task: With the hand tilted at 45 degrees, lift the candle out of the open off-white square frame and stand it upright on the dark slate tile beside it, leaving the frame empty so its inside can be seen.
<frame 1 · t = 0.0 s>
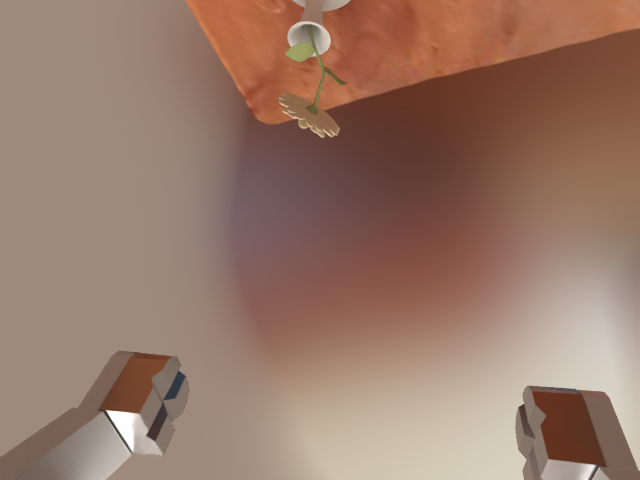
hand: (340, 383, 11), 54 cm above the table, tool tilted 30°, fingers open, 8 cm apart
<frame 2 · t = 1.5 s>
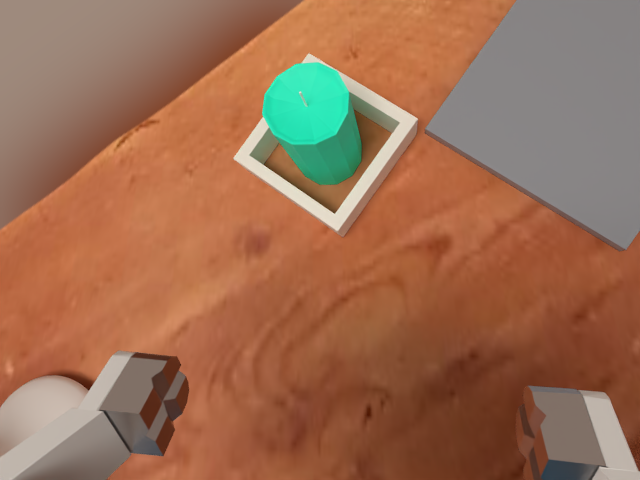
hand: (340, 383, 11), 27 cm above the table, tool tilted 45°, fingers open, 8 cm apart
slate tile: (579, 100, 37), on the table
candle: (329, 153, 40), resting in square frame
flower in vase: (59, 442, 41), on the table
square frame: (329, 152, 40), on the table
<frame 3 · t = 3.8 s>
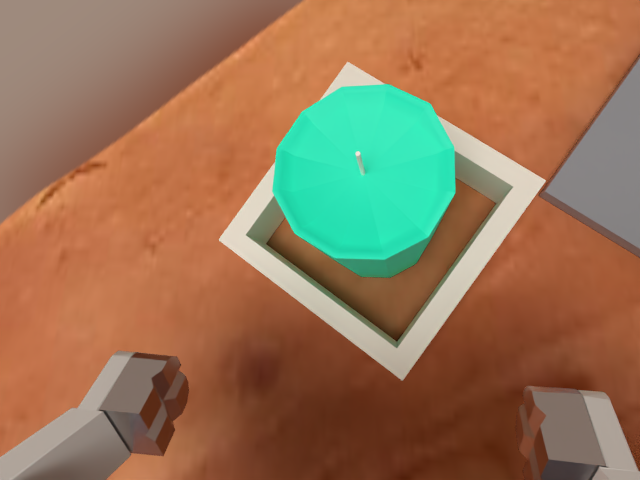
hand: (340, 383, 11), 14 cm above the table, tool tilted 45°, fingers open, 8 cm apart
candle: (377, 225, 25), resting in square frame
square frame: (376, 224, 25), on the table
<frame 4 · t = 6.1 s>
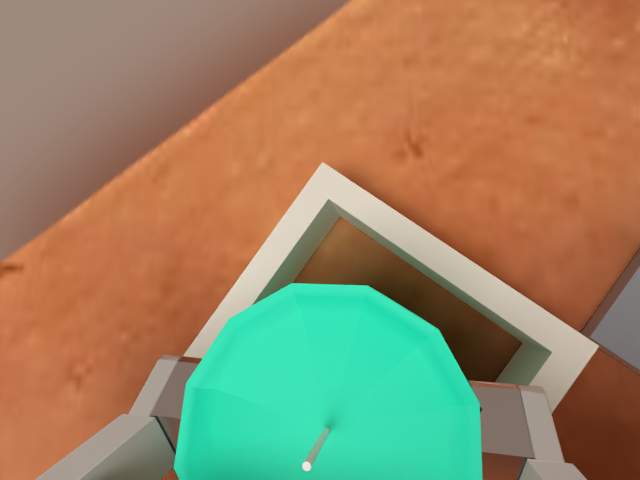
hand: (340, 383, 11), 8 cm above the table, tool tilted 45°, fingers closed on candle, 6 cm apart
candle: (364, 363, 19), resting in square frame, touching gripper
square frame: (364, 364, 19), on the table
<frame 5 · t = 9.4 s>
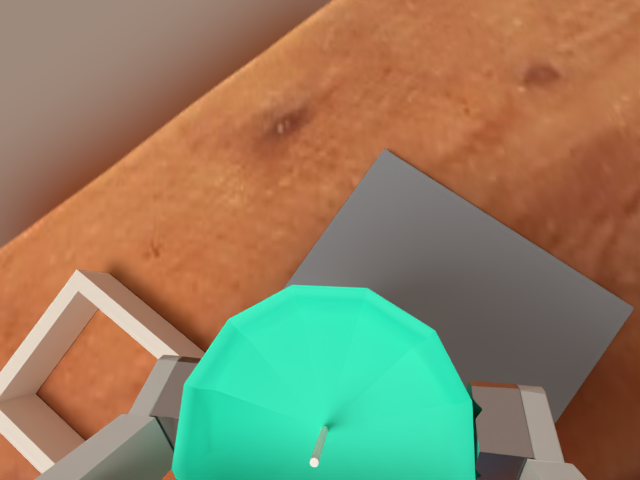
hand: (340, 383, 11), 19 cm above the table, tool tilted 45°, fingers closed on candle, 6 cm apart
slate tile: (418, 337, 29), on the table
candle: (344, 366, 19), point 11 cm above the table, touching gripper
square frame: (116, 381, 32), on the table
when the fingers open (11 cm above the table, at t = 12.6 s): candle stays where it is, resting on slate tile.
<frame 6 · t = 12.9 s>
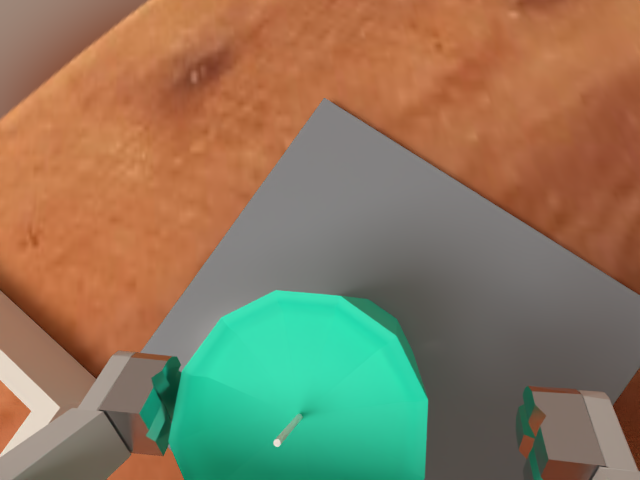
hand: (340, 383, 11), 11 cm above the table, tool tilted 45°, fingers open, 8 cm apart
slate tile: (368, 356, 21), on the table
candle: (346, 361, 20), point 1 cm above the table, touching slate tile
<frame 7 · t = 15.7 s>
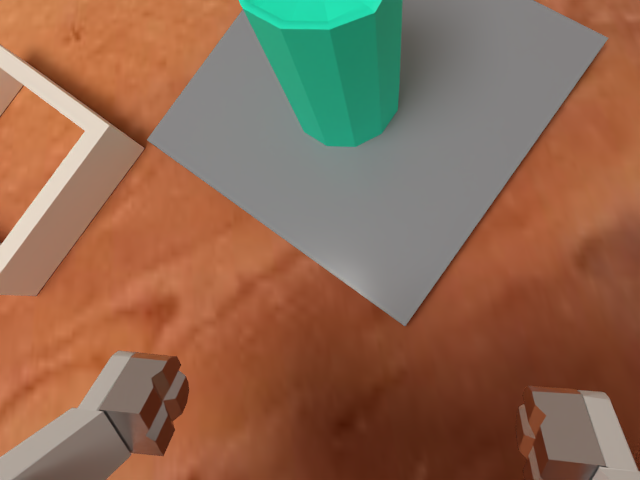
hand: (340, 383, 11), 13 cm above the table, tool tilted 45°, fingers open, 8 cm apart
slate tile: (363, 100, 25), on the table
candle: (345, 97, 25), point 1 cm above the table, touching slate tile
square frame: (30, 173, 28), on the table
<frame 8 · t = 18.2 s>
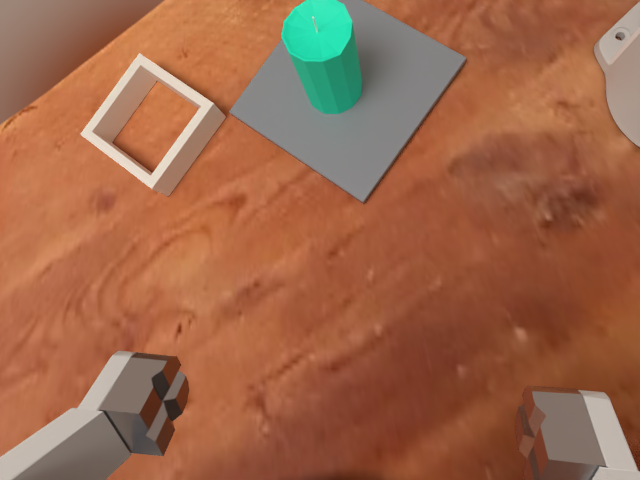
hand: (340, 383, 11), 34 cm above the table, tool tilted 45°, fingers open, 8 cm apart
slate tile: (344, 90, 48), on the table
candle: (334, 88, 48), point 1 cm above the table, touching slate tile
square frame: (162, 131, 51), on the table
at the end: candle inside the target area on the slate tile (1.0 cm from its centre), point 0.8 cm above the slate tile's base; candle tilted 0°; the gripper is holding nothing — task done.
